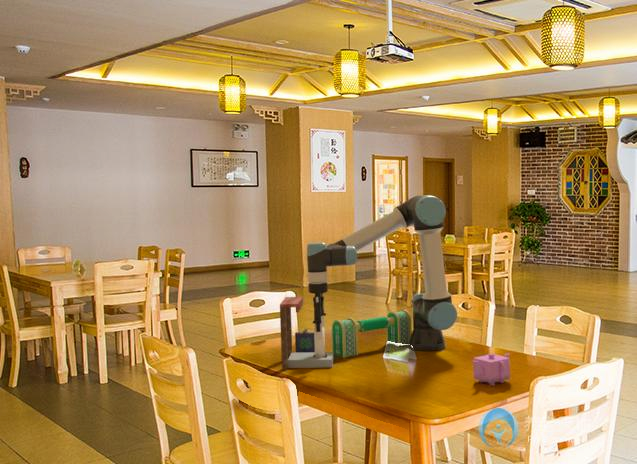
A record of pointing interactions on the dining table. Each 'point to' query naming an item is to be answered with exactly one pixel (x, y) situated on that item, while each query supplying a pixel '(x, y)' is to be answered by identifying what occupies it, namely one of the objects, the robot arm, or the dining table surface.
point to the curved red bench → (287, 326)
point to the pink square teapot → (492, 368)
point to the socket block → (310, 360)
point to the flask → (304, 341)
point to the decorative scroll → (348, 336)
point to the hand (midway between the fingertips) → (320, 336)
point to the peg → (320, 346)
